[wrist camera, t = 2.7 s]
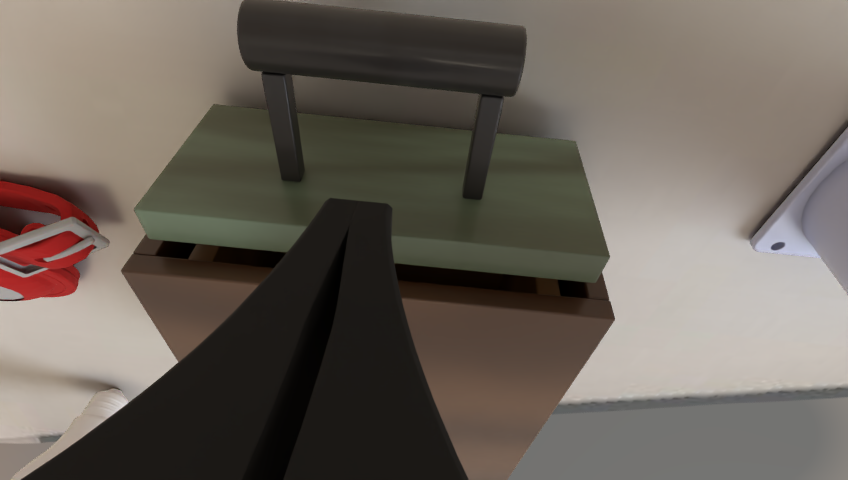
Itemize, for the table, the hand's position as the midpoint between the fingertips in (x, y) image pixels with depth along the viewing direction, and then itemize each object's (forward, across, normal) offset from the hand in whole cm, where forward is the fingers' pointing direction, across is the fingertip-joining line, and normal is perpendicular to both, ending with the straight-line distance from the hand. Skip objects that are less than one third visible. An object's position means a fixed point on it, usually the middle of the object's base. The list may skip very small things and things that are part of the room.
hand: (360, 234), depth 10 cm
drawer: (+7, 0, +7) cm, 10 cm away
